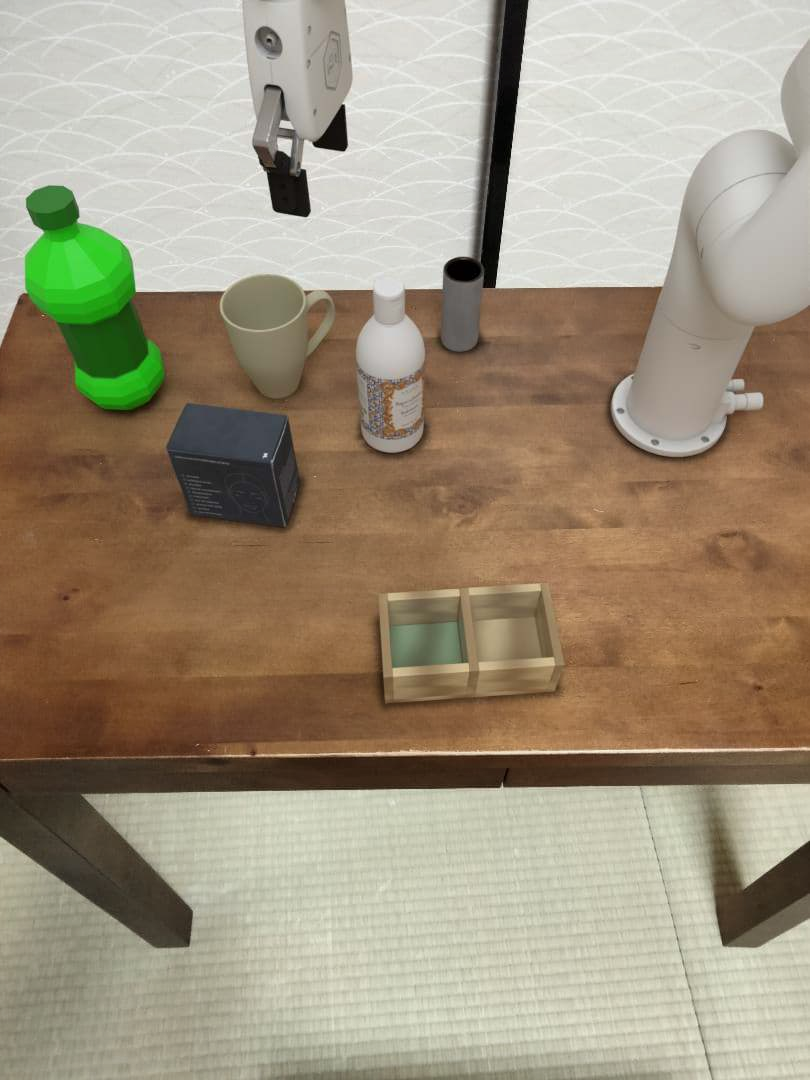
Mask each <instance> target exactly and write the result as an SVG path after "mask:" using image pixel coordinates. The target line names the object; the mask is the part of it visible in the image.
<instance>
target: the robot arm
mask: <svg viewBox="0 0 810 1080" xmlns="http://www.w3.org/2000/svg"><path fill="white" fill-rule="evenodd" d="M241 2H242V5H241V6H242V17H243V18H242V19H243V31H244V32H243V33H244V42H245V54H246V61H247V70H248V79H249V85H250V86H249V87H250V92H251V99H252V104H253V109H254V114H255V119H256V124H255V128H254V131H253V134H252V139H251V145H252V148H253V150H254V151H255V154H256V155H257V159H258V162H259V165H260V166H261V167H262V170H263V172H266V178H267V183H268V189H269V197H270V203H271V208H272V210H273V212H275V213H277V214H283V215H289V216H294V217H300V218H308V217H310V214H311V213H312V207H311V199H310V192H309V182H308V175H307V169H304V168H302V164H303V163H302V162H303V154H304V148H305V147H304V145H305V141H308V142H309V143H311V144H312V146H313V147H314V148H317V149H323V150H328V151H335V152H342V153H344V152H346V150H347V149H348V147H349V140H348V138H349V137H348V126H347V112H346V104H345V103H344V102H345V100H346V98H347V96H348V95H349V93H350V91H351V89H352V88H351V87H352V85H353V80H354V79H353V77H354V75H353V61H352V53H351V44H350V42H351V41H350V33H349V26H348V25H349V24H348V15H347V7H346V0H241ZM780 105H781V112H782V116H783V120H784V123H785V126H786V130H787V131H788V132H787V133H788V135H789V137H790V140H791V142H790V141H789V140H788V139H787V138H786V137H784V136H782V135H781V134H778V133H776V132H774V131H770V130H767V129H746V130H741V131H737V132H735V133H732V134H730V135H728V136H726V137H725V138H723V139H721V140H720V141H719V142H717V143H716V144H715V145H713V146H712V147H711V148H709V150H708V151H707V152H706V153H705V154H704V155H703V156H702V157H701V158H700V160H699V162H698V163H697V165H696V166H695V168H694V170H693V171H692V173H691V176H690V178H689V181H688V182H687V186H686V188H685V191H684V195H683V199H682V203H681V208H680V212H679V217H678V224H677V230H676V235H675V240H674V245H673V249H672V253H671V258H670V260H669V265H668V268H667V272H666V274H665V278H664V280H663V284H662V288H661V291H660V293H659V296H658V298H657V302H656V306H655V308H654V311H653V315H652V318H651V321H650V324H649V327H648V331H647V334H646V337H645V340H644V343H643V346H642V349H641V351H640V356H639V358H638V361H637V364H636V368H635V371H634V372H633V373H632V374H630V375H628V376H626V377H625V378H624V379H622V380H621V381H620V382H619V383H618V385H617V387H616V388H615V389H614V392H613V394H612V398H611V401H610V415H611V419H612V421H613V423H614V425H615V427H616V429H617V430H618V431H619V432H620V434H621V435H622V436H623V437H624V438H625V439H627V441H629V442H630V443H631V444H633V445H634V446H636V447H638V448H640V449H642V450H644V451H646V452H648V453H651V454H655V455H658V456H661V457H662V456H663V457H669V458H684V457H692V456H695V455H699V454H701V453H704V452H706V451H707V450H709V449H710V448H712V447H713V446H714V445H716V443H717V442H718V441H719V439H720V438H721V437H722V435H723V433H724V430H725V428H726V424H727V415H733V414H734V412H735V411H743V412H746V411H747V412H748V411H760V410H762V408H763V406H764V395H763V393H762V392H744V393H740V394H739V393H738V394H735V393H736V392H743V391H744V390H745V385H746V384H745V380H744V379H743V378H737V379H735V378H734V379H733V376H734V373H735V371H736V370H737V367H738V365H739V362H740V360H741V358H742V356H743V354H744V352H745V350H746V348H747V345H748V343H749V341H750V339H751V337H752V334H753V332H754V330H755V328H756V327H763V326H768V325H773V324H777V323H779V322H782V321H784V320H785V321H786V320H787V319H789V318H791V317H793V316H795V315H797V314H798V313H800V312H802V311H803V310H805V309H806V308H808V307H810V37H809V38H808V40H807V41H806V42H805V44H804V45H803V46H802V48H801V49H800V50H799V51H798V53H797V55H796V56H794V58H793V60H792V62H791V64H790V65H789V67H788V68H787V70H786V72H785V75H784V76H783V79H782V83H781V87H780ZM281 121H284V122H289V123H290V124H291V127H292V128H285V127H281V126H280V125H281ZM278 139H283V140H291V147H290V148H291V150H290V156H289V155H288V154H287V153H285V152H284V151H283V150H279V144H278Z"/></svg>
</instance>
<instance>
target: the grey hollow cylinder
mask: <svg viewBox="0 0 810 1080" xmlns="http://www.w3.org/2000/svg"><path fill="white" fill-rule="evenodd" d="M442 268H443V270H442V291H441V315H440V319H441V320H440V342H441V344H442V346H444V347H445V349H448V350H449V351H453V352H457V353H459V352H460V353H461V352H462V353H463V352H468V351H470V350H471V349H474V347H475V346H476V345H477V343H478V341H479V332H480V331H479V330H480V320H481V311H482V298H483V288H484V277H485V268H484V266H483V264H482V263H481V262H480V261H479V260H477V259H476V258H473V257H470V256H456V257H453V258H451V259H449V260H448V261H446V263H445V264H444V265H443V267H442Z"/></svg>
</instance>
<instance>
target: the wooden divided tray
mask: <svg viewBox="0 0 810 1080" xmlns="http://www.w3.org/2000/svg"><path fill="white" fill-rule="evenodd" d="M550 588H551V587H550V583H549V582H541V583H540V582H538V583H522V584H508V585H507V584H506V585H491V586H476V587H463V588H462V587H461V588H447V589H446V588H445V589H433V590H431V589H430V590H416V591H401V592H386V593H382V592H381V593H377V600H378V612H379V614H378V616H379V631H380V646H381V647H380V649H381V662H382V663H381V664H382V665H381V666H382V679H383V693H384V703H385V704H396V703H412V702H425V701H426V702H427V701H437V700H438V701H439V700H441V701H442V700H454V699H467V698H481V697H482V698H483V697H496V696H509V695H510V696H512V695H525V694H527V695H528V694H538V693H540V694H541V693H553V692H556V689H557V686H558V684H559V681H560V679H561V675H562V673H563V670H564V668H565V659H564V655H563V649H562V644H561V643H562V642H561V639H560V634H559V629H558V623H557V618H556V614H555V608H554V603H553V602H554V601H553V599H552V593H551V589H550Z"/></svg>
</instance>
